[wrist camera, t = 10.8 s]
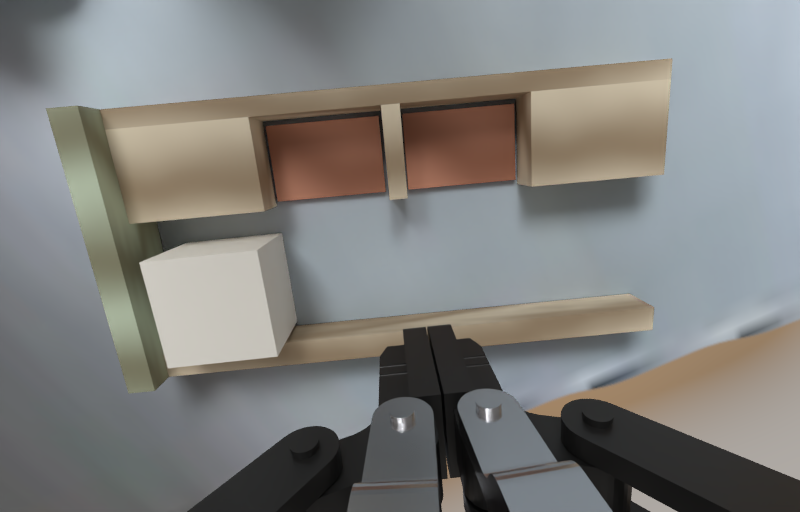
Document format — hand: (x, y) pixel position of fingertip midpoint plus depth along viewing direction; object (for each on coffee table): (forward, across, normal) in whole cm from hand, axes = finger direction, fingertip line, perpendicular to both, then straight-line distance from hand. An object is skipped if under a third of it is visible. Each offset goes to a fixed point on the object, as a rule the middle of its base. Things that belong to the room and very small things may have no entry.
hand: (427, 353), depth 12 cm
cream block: (+14, +11, +1) cm, 17 cm away
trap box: (+13, +1, 0) cm, 13 cm away
